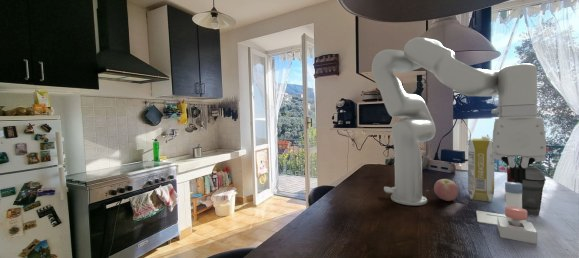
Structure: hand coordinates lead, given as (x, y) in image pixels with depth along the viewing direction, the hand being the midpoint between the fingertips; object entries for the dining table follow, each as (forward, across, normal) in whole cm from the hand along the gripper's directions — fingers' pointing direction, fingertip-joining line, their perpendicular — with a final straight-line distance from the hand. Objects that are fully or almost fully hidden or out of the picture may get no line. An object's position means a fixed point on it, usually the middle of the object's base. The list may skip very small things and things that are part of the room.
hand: (517, 181), depth 66 cm
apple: (+14, -17, +23) cm, 32 cm away
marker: (+14, +1, +10) cm, 17 cm away
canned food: (+15, +7, +44) cm, 47 cm away
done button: (+13, 0, 0) cm, 13 cm away
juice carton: (+14, -6, +32) cm, 36 cm away
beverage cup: (+15, +6, +21) cm, 26 cm away
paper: (+14, -2, +10) cm, 18 cm away
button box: (+14, 0, 0) cm, 15 cm away
